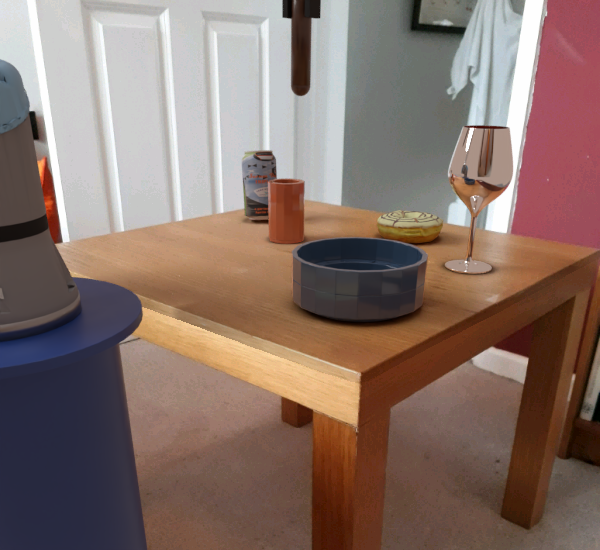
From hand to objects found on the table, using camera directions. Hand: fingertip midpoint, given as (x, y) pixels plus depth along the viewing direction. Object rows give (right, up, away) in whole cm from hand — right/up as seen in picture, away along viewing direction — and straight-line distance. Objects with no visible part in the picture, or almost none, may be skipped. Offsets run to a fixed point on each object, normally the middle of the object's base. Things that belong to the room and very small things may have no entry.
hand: (301, 17), depth 80 cm
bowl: (+6, -37, -6) cm, 38 cm away
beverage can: (-7, -16, +35) cm, 39 cm away
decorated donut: (+18, -22, +23) cm, 37 cm away
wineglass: (+23, -30, +8) cm, 39 cm away
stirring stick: (0, -8, +4) cm, 9 cm away
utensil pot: (-2, -23, +22) cm, 31 cm away
